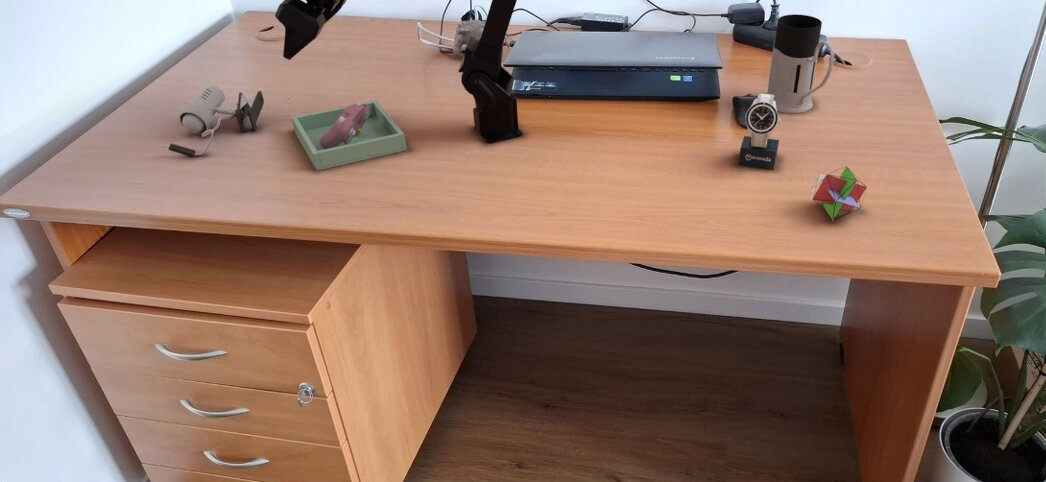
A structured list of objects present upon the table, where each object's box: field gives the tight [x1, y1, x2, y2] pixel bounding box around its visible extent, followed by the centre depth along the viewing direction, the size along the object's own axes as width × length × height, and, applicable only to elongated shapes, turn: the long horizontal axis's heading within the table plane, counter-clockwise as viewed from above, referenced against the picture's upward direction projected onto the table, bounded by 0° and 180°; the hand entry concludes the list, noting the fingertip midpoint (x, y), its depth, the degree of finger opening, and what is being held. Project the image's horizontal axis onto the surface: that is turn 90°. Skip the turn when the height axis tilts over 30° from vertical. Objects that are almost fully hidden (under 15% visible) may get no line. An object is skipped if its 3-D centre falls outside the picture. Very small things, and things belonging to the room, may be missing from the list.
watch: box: [738, 93, 782, 171], centre depth 127 cm, size 6×8×11 cm
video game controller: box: [320, 101, 371, 149], centre depth 135 cm, size 10×5×7 cm, turn 168°
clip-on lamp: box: [163, 85, 265, 158], centre depth 137 cm, size 12×6×18 cm
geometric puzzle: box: [811, 165, 868, 221], centre depth 116 cm, size 7×7×8 cm
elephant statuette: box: [452, 18, 511, 58], centre depth 167 cm, size 9×12×8 cm
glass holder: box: [766, 14, 835, 114], centre depth 143 cm, size 9×14×15 cm, turn 25°
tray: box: [291, 100, 408, 172], centre depth 136 cm, size 15×16×3 cm
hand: (295, 47), depth 130 cm, fingers open, 9 cm apart
